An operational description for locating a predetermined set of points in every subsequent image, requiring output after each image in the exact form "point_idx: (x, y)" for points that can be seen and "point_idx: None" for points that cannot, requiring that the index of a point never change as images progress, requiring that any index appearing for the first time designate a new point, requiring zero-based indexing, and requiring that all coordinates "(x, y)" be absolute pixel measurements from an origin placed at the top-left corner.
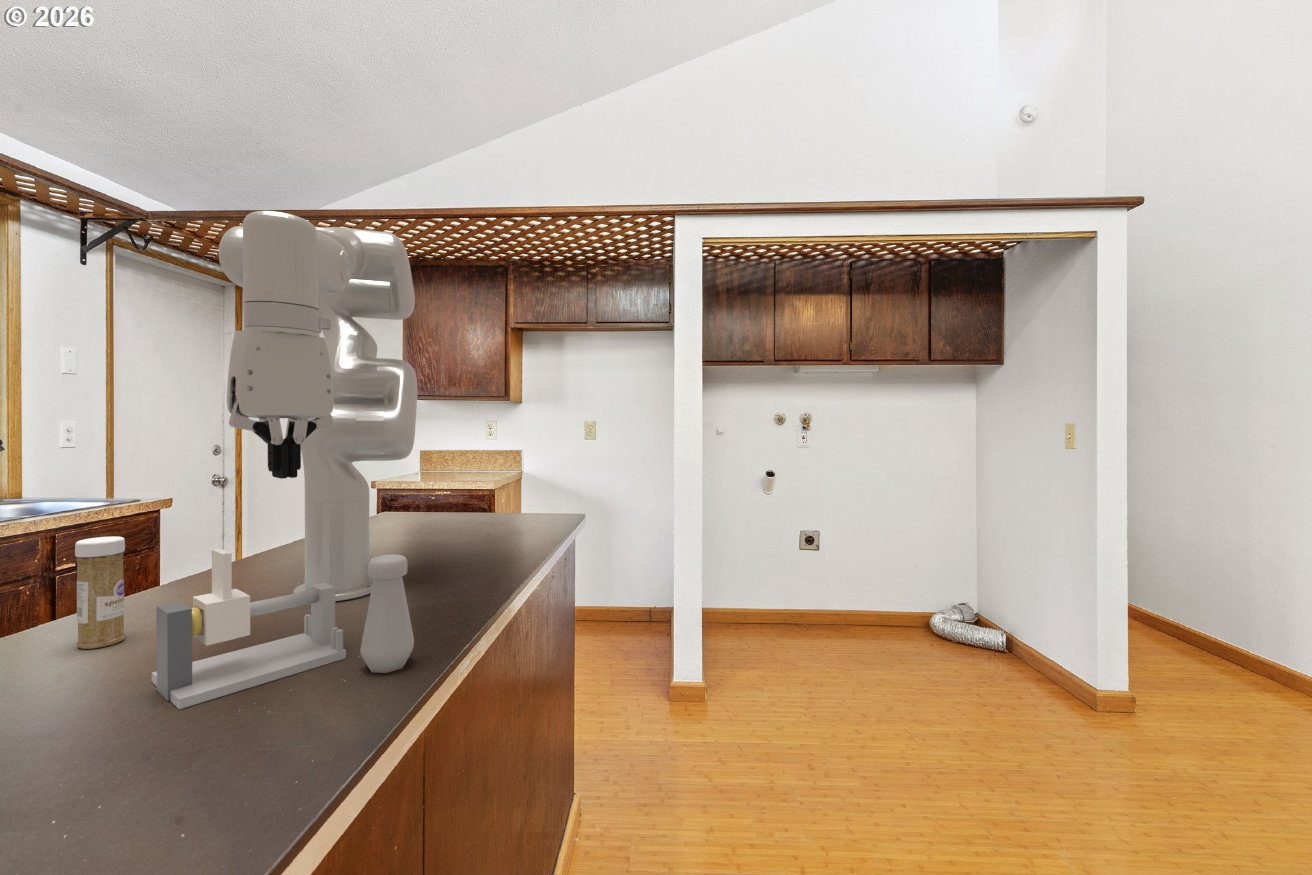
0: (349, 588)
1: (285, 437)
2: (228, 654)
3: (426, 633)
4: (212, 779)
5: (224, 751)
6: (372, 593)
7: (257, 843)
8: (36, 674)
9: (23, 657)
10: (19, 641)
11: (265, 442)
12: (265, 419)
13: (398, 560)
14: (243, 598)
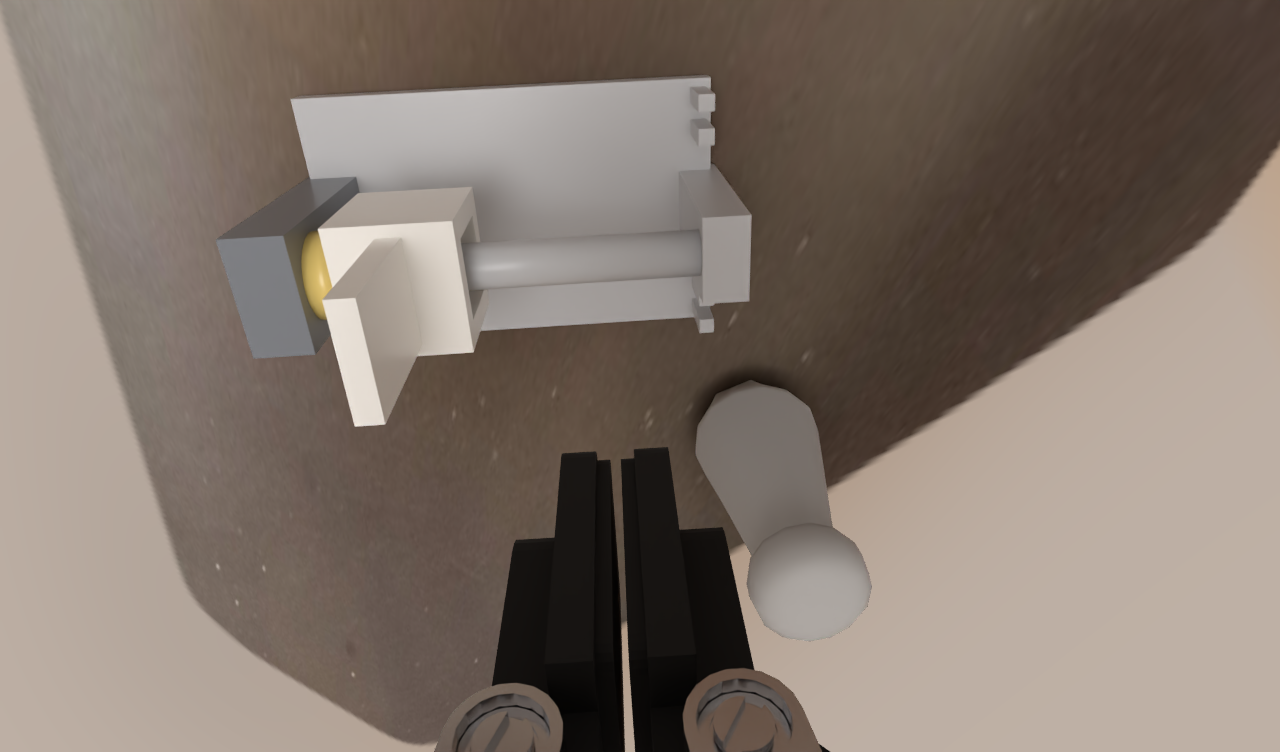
0: None
1: (685, 739)
2: (474, 108)
3: (933, 291)
4: (389, 595)
5: (411, 537)
6: (747, 529)
7: (416, 726)
8: None
9: None
10: None
11: (468, 723)
12: None
13: (821, 638)
14: (455, 352)
